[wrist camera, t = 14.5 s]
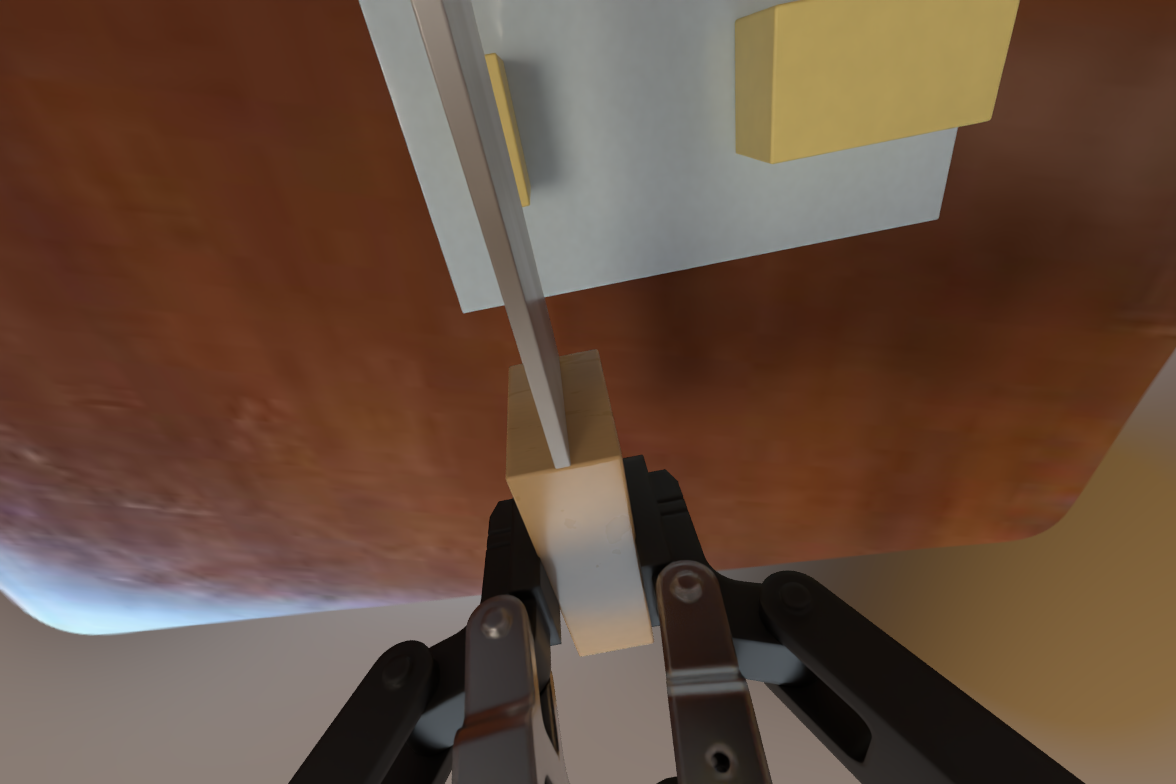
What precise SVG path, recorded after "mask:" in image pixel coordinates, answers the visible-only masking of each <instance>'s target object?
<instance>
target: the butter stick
mask: <svg viewBox="0 0 1176 784" xmlns="http://www.w3.org/2000/svg"><path fill="white" fill-rule="evenodd" d="M1019 2H1020V0H797V1H792V2H788V3H783V4H778V5H775V6H772V7H769V8H766V9H764V10H761V11H758V12H755V13H753V14H750V15H747V16H744V17H742V18H739V19H737V20H736V21H735V129H736V154H740V155H743V156H746V157H750V158H753V159H756V160H759V161H763V162H766V163H769V164H776V163H781V162H786V161H791V160H796V159H801V158H806V157H811V156H816V155H821V154H826V153H831V152H836V151H841V150H846V149H851V148H856V147H861V146H866V145H871V144H876V143H881V142H886V141H891V140H896V139H901V138H906V137H911V136H916V135H921V134H926V133H931V132H936V131H941V130H946V129H951V128H956V127H961V126H966V125H971V124H976V123H981V122H986V121H989V120H990V119H991V117H992V113H993V109H994V105H995V101H996V97H997V93H998V88H999V84H1000V80H1001V76H1002V72H1003V68H1004V64H1005V60H1006V55H1007V51H1008V47H1009V43H1010V39H1011V35H1012V31H1013V27H1014V22H1015V18H1016V14H1017V10H1018V6H1019Z"/></svg>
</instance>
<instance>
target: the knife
mask: <svg viewBox="0 0 1176 784" xmlns="http://www.w3.org/2000/svg"><path fill="white" fill-rule="evenodd" d="M410 2H411V5H412V8H413V11H414V14H415V18H416V21H417V24H418V27H419V31H420V34H421V37H422V40H423V43H424V47H425V50H426V53H427V56H428V60H429V63H430V66H431V69H432V72H433V76H434V79H435V82H436V85H437V89H438V92H439V95H440V98H441V101H442V105H443V108H444V111H445V114H446V118H447V121H448V124H449V127H450V131H451V134H452V137H453V140H454V143H455V147H456V150H457V153H458V156H459V160H460V163H461V166H462V169H463V172H464V176H465V179H466V182H467V185H468V189H469V192H470V195H471V198H472V201H473V205H474V208H475V211H476V214H477V218H478V221H479V224H480V227H481V230H482V234H483V237H484V240H485V243H486V247H487V250H488V253H489V256H490V260H491V263H492V266H493V269H494V272H495V276H496V279H497V282H498V285H499V289H500V292H501V295H502V298H503V301H504V305H505V308H506V311H507V314H508V318H509V321H510V324H511V327H512V330H513V334H514V337H515V340H516V343H517V347H518V350H519V353H520V356H521V359H522V363H523V364H520V365H515V366H511V367H509V381H508V417H507V454H506V481H507V483H508V486H509V488H510V491H511V493H512V495H513V498H514V500H515V503H516V505H517V507H518V510H519V512H520V515H521V517H522V519H523V522H524V524H525V527H526V529H527V531H528V534H529V536H530V538H531V541H532V543H533V546H534V548H535V550H536V553H537V555H538V557H540V559H541V562H542V564H543V566H544V569H545V571H546V574H547V576H548V579H549V581H550V583H551V586H552V588H553V591H554V593H555V596H556V598H557V600H558V603H559V605H560V610H561V613H562V615H563V617H564V620H565V622H566V625H567V627H568V629H569V632H570V634H571V637H572V639H573V641H574V644H575V646H576V649H577V651H578V653H579V656H581V657H582V656H588V655H593V654H598V653H603V652H608V651H614V650H619V649H625V648H630V647H635V646H640V645H645V644H651V643H653V642H654V638H653V632H652V626H651V621H650V616H649V612H648V607H647V602H646V598H645V593H644V588H643V582H642V576H641V571H640V565H639V559H638V553H637V548H636V542H635V538H636V533H635V528H634V522H633V516H632V510H631V504H630V499H629V493H628V487H627V481H626V475H625V470H624V464H623V458H622V453H621V449H620V445H619V440H618V436H617V431H616V427H615V423H614V418H613V414H612V409H611V405H610V400H609V396H608V392H607V387H606V383H605V378H604V374H603V370H602V365H601V361H600V356H599V352H598V351H597V350H590V351H585V352H580V353H575V354H570V355H565V356H560V357H559V354H558V350H557V346H556V342H555V338H554V334H553V330H552V326H551V322H550V318H549V314H548V310H547V306H546V302H545V298H544V294H543V290H542V286H541V282H540V278H539V274H538V270H537V266H536V262H535V257H534V253H533V249H532V245H531V241H530V237H529V233H528V229H527V225H526V221H525V217H524V213H523V209H522V205H521V201H520V197H519V193H518V189H517V185H516V181H515V177H514V173H513V169H512V165H511V160H510V156H509V152H508V148H507V144H506V140H505V136H504V132H503V128H502V124H501V120H500V116H499V112H498V108H497V104H496V100H495V96H494V92H493V88H492V84H491V80H490V76H489V72H488V68H487V64H486V59H485V55H484V51H483V47H482V43H481V39H480V35H479V31H478V27H477V23H476V19H475V15H474V11H473V7H472V3H471V0H410Z"/></svg>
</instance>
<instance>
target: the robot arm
mask: <svg viewBox="0 0 1176 784" xmlns="http://www.w3.org/2000/svg"><path fill="white" fill-rule="evenodd" d="M623 464H624V470H625V475H626V481H627V487H628V493H629V499H630V504H631V510H632V516H633V522H634V528H635V533H636V538H635V542H636V548H637V553H638V559H639V565H640V571H641V576H642V582H643V588H644V593H645V598H646V602H647V607H648V612H649V616H650V621H651V626H652V627H654V626H660V628H661V637H662V645H663V653H664V661H665V671H666V680H667V681H666V684H667V694H668V703H669V711H670V719H671V728H672V736H673V745H674V753H675V762H676V771H677V777H671V778H666V779H664V780H662V781H661V782H659V783H657V784H772V780H771V776H770V772H769V768H768V764H767V760H766V756H765V752H764V748H763V744H762V740H761V736H760V732H759V728H758V724H757V720H756V716H755V712H754V708H753V704H752V700H751V696H750V692H749V689H748V685H747V682H746V679H750V680H756V681H761V682H764V683H765V684H766V686H767V687H768V688H769V689H770V690H771V691H772V692H773V693H774V694H775V695H776V696H777V697H778V698H779V699H780V700H781V701H782V702H783V703H784V704H785V705H786V706H787V707H788V708H789V709H790V710H791V711H792V712H793V714H795V715H796V717H797V718H798V719H799V720H800V721H801V722H802V723H803V724H804V725H805V726H806V727H807V728H808V729H809V730H810V731H811V732H812V733H813V734H814V735H815V736H816V737H817V738H818V739H819V740H820V741H821V742H822V743H823V744H824V745H825V746H826V747H827V748H828V750H830V751H831V753H833V755H834V756H835V757H836V758H837V759H838V760H839V761H840V762H841V763H842V764H843V765H844V766H845V767H846V768H847V769H848V770H849V771H850V772H851V773H852V774H853V775H854V776H855V777H856V778H857V779H858V780H859V781H860V782H861V783H862V784H1085V783H1084V782H1082V781H1081V780H1080V779H1078V778H1077V777H1076V776H1074V775H1073V774H1072V773H1070V772H1069V771H1068V770H1066V769H1065V768H1064V767H1062V766H1061V765H1060V764H1059V763H1057V762H1056V761H1055V760H1053V759H1052V758H1050V757H1049V756H1048V755H1047V754H1045V753H1044V752H1043V751H1041V750H1040V749H1039V748H1037V747H1036V746H1035V745H1033V744H1032V743H1031V742H1029V741H1028V740H1027V739H1025V738H1024V737H1023V736H1021V735H1020V734H1019V733H1017V732H1016V731H1015V730H1013V729H1012V728H1011V727H1010V726H1008V725H1007V724H1005V723H1004V722H1003V721H1002V720H1000V719H999V718H998V717H996V716H995V715H994V714H992V713H991V712H990V711H988V710H987V709H986V708H984V707H983V706H982V705H980V704H979V703H978V702H976V701H975V700H974V699H972V698H971V697H970V696H968V695H967V694H966V693H964V692H963V691H962V690H960V689H959V688H958V687H957V686H955V685H954V684H952V683H951V682H950V681H949V680H947V679H946V678H945V677H943V676H942V675H941V674H939V673H938V672H937V671H935V670H934V669H933V668H931V667H930V666H929V665H927V664H926V663H925V662H923V661H922V660H921V659H919V658H918V657H917V656H915V655H914V654H913V653H911V652H910V651H909V650H908V649H906V648H905V647H904V646H902V645H901V644H900V643H898V642H897V641H896V640H894V639H893V638H892V637H890V636H889V635H888V634H886V633H885V632H884V631H882V630H881V629H880V628H878V627H877V626H876V625H874V624H873V623H872V622H870V621H869V620H868V619H866V618H865V617H864V616H862V615H861V614H860V613H859V612H857V611H856V610H855V609H853V608H852V607H851V606H849V605H848V604H846V603H845V602H844V601H843V600H841V599H840V598H839V597H837V596H836V595H835V594H833V593H832V592H831V591H829V590H828V589H827V588H826V587H824V586H823V585H822V584H820V583H819V582H818V581H816V580H815V579H813V578H812V577H810V576H807V575H806V574H803V573H800V572H796V571H780V572H776V573H774V574H771V575H770V576H768V577H767V578H766V579H765V580H764V582H763V583H762V584H761V583H752V582H743V581H737V580H733V579H729V578H727V577H725V576H723V575H721V574H719V573H718V572H716V571H715V570H714V569H713V568H712V567H711V566H710V565H709V563H708V562H707V560H706V558H705V556H704V554H703V551H702V548H701V545H700V542H699V540H698V537H697V534H696V531H695V528H694V526H693V523H692V520H691V517H690V515H689V512H688V510H687V506H686V503H685V501H684V499H683V495H682V492H681V489H680V487H679V484H678V481H677V480H676V479H675V478H674V477H673V476H672V475H671V474H670V473H669V472H668V471H667V470H665V469H664V470H659V471H654V472H649V473H648V470H647V467H646V463H645V460H644V457H643V455H638V456H633V457H627V458H623ZM488 535H489V536H488V539H487V550H486V558H485V568H484V577H483V587H482V597H481V602H480V605H479V606H478V607H477V608H476V609H475V610H474V611H473V613H472V614H471V616H470V618H469V620H468V623H467V625H466V626H465V627H464V628H463V629H462V630H461V631H459V632H458V633H457V634H455V635H453V636H451V637H449V638H447V639H445V640H443V641H441V642H440V643H438V644H436V645H434V646H432V647H430V648H428V647H427V646H426V645H425V644H424V643H422V642H419V641H415V640H414V641H413V640H410V641H405V642H401V643H398V644H396V645H394V646H393V647H391V648H390V649H388V650H387V651H386V652H384V653H383V654H382V655H381V656H380V657H379V659H378V660H377V661H376V662H375V664H374V665H373V666H372V668H371V669H370V670H369V672H368V673H367V675H366V676H365V677H364V679H363V680H362V682H361V683H360V684H359V686H358V687H357V689H356V690H355V692H354V693H353V694H352V696H351V697H350V698H349V700H348V701H347V703H346V704H345V705H344V707H343V708H342V709H341V711H340V712H339V714H338V715H337V716H336V718H335V719H334V721H333V722H332V723H331V725H330V726H329V728H328V729H327V730H326V732H325V733H324V735H323V736H322V737H321V739H320V740H319V741H318V743H317V744H316V746H315V747H314V748H313V750H312V751H311V753H310V754H309V756H308V757H307V758H306V760H305V761H304V762H303V764H302V765H301V766H300V768H299V769H298V771H297V772H296V773H295V775H294V776H293V778H292V779H291V780H290V782H289V783H288V784H445V782H446V780H447V778H448V776H449V774H450V772H451V770H452V784H570V783H569V779H568V776H567V772H566V767H565V763H564V757H563V749H562V742H561V734H560V727H559V720H558V712H557V705H556V696H555V689H554V682H553V675H552V671H551V652H550V646H552V645H558V644H561V624H560V605H559V603H558V600H557V598H556V596H555V593H554V591H553V588H552V586H551V583H550V581H549V579H548V576H547V574H546V571H545V569H544V566H543V564H542V562H541V559H540V557H538V555H537V553H536V550H535V548H534V546H533V543H532V541H531V538H530V536H529V534H528V531H527V529H526V527H525V524H524V522H523V519H522V517H521V515H520V512H519V510H518V507H517V505H516V503H515V500H514V498H513V499H509V500H504V501H499V502H498V504H497V505H496V507H495V509H494V511H493V512H492V514H491V516H490V520H489V529H488Z"/></svg>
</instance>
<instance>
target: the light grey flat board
mask: <svg viewBox="0 0 1176 784" xmlns="http://www.w3.org/2000/svg"><path fill="white" fill-rule="evenodd" d="M792 1H797V0H471V3H472V7H473V11H474V15H475V19H476V23H477V27H478V31H479V35H480V39H481V43H482V47H483V51H484V55H485V54H490V53H496V54H497V55H498V56H499V57H500V58H501V59H502V60H503V63H504V67H505V72H506V76H507V81H508V85H509V90H510V94H511V99H512V103H513V108H514V112H515V117H516V122H517V126H518V131H519V135H520V140H521V144H522V149H523V153H524V158H525V162H526V167H527V171H528V176H529V181H530V185H531V197H530V205H529V206H526V207H522V209H523V213H524V217H525V221H526V225H527V229H528V233H529V237H530V241H531V245H532V249H533V253H534V257H535V262H536V266H537V270H538V274H539V278H540V282H541V286H542V290H543V294H544V297H548V296H553V295H558V294H563V293H568V292H573V291H578V290H583V289H588V288H593V287H598V286H603V285H608V284H613V283H618V282H623V281H629V280H634V279H639V278H644V277H649V276H654V275H659V274H664V273H669V272H674V271H679V270H684V269H689V268H694V267H699V266H704V265H709V264H714V263H719V262H724V261H729V260H735V259H740V258H745V257H750V256H755V255H760V254H765V253H770V252H775V251H780V250H785V249H790V248H795V247H800V246H805V245H810V244H815V243H820V242H825V241H830V240H835V239H840V238H846V237H851V236H856V235H861V234H866V233H871V232H876V231H881V230H886V229H891V228H896V227H901V226H906V225H911V224H916V223H921V222H926V221H931V220H936V219H938V218H939V214H940V209H941V204H942V200H943V195H944V190H945V186H946V181H947V176H948V171H949V167H950V162H951V157H952V153H953V148H954V143H955V138H956V134H957V129H958V127H956V128H951V129H946V130H941V131H936V132H931V133H926V134H921V135H916V136H911V137H906V138H901V139H896V140H891V141H886V142H881V143H876V144H871V145H866V146H861V147H856V148H851V149H846V150H841V151H836V152H831V153H826V154H821V155H816V156H811V157H806V158H801V159H796V160H791V161H786V162H781V163H776V164H769V163H766V162H763V161H759V160H756V159H753V158H750V157H746V156H743V155H740V154H736V129H735V21H736V20H737V19H739V18H742V17H744V16H747V15H750V14H753V13H755V12H758V11H761V10H764V9H766V8H769V7H772V6H775V5H778V4H783V3H788V2H792ZM359 3H360V6H361V9H362V12H363V15H364V18H365V21H366V24H367V27H368V30H369V33H370V36H371V39H372V42H373V45H374V48H375V51H376V54H377V57H378V60H379V63H380V66H381V69H382V72H383V75H384V78H385V81H386V84H387V87H388V90H389V93H390V96H391V99H392V102H393V105H394V108H395V111H396V114H397V117H398V120H399V123H400V126H401V129H402V132H403V135H404V138H405V141H406V144H407V147H408V150H409V153H410V156H411V159H412V162H413V165H414V168H415V171H416V174H417V177H418V180H419V183H420V186H421V189H422V192H423V195H424V198H425V201H426V204H427V207H428V210H429V213H430V216H431V219H432V222H433V225H434V228H435V231H436V234H437V237H438V240H439V243H440V246H441V249H442V252H443V255H444V258H445V261H446V264H447V267H448V270H449V273H450V276H451V279H452V282H453V285H454V288H455V291H456V294H457V297H458V300H459V303H460V306H461V309H462V312H463V313H467V312H472V311H477V310H482V309H487V308H492V307H497V306H502V305H504V301H503V298H502V295H501V292H500V289H499V285H498V282H497V279H496V276H495V272H494V269H493V266H492V263H491V260H490V256H489V253H488V250H487V247H486V243H485V240H484V237H483V234H482V230H481V227H480V224H479V221H478V218H477V214H476V211H475V208H474V205H473V201H472V198H471V195H470V192H469V189H468V185H467V182H466V179H465V176H464V172H463V169H462V166H461V163H460V160H459V156H458V153H457V150H456V147H455V143H454V140H453V137H452V134H451V131H450V127H449V124H448V121H447V118H446V114H445V111H444V108H443V105H442V101H441V98H440V95H439V92H438V89H437V85H436V82H435V79H434V76H433V72H432V69H431V66H430V63H429V60H428V56H427V53H426V50H425V47H424V43H423V40H422V37H421V34H420V31H419V27H418V24H417V21H416V18H415V14H414V11H413V8H412V5H411V2H410V0H359Z"/></svg>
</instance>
